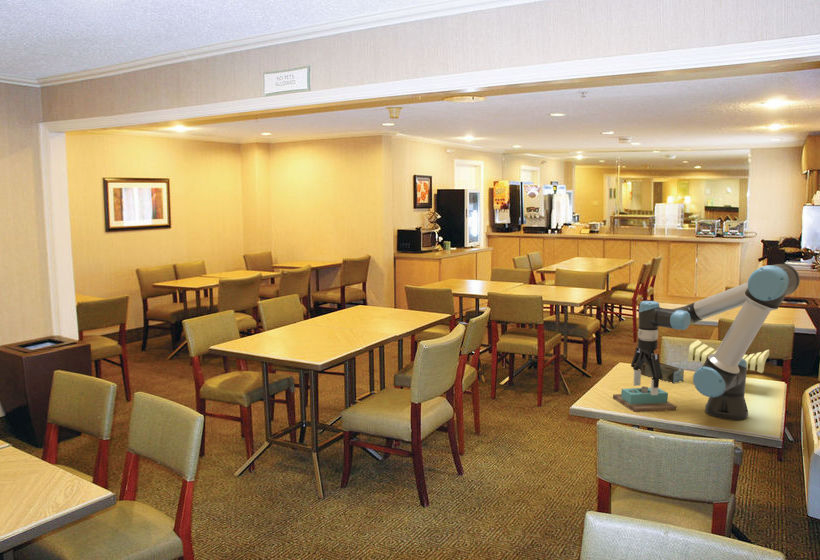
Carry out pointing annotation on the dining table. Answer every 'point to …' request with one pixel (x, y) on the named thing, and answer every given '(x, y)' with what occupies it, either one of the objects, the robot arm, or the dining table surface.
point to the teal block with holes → (643, 396)
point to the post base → (645, 406)
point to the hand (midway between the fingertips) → (645, 390)
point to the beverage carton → (665, 372)
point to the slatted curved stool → (702, 351)
